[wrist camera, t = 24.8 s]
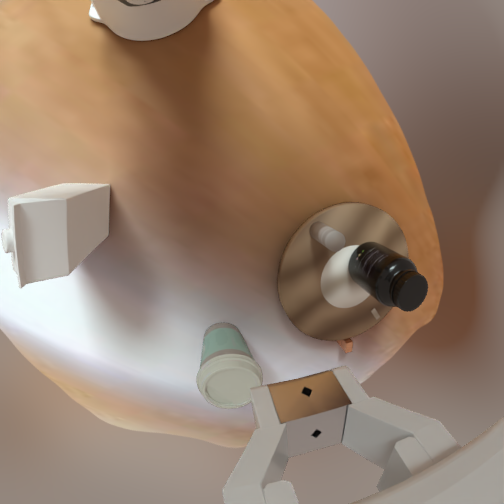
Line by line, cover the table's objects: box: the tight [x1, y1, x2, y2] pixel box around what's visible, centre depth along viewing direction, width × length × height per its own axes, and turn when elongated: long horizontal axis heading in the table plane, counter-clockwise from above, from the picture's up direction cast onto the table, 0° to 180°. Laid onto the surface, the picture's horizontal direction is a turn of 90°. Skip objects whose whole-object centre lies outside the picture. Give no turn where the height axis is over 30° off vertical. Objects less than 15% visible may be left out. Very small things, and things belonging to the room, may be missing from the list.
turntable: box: [277, 202, 408, 341], centre depth 42 cm, size 22×22×8 cm
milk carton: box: [1, 183, 110, 288], centre depth 28 cm, size 7×7×19 cm
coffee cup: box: [197, 323, 263, 409], centre depth 41 cm, size 8×8×12 cm
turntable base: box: [337, 338, 353, 353], centre depth 46 cm, size 22×18×4 cm
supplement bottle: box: [348, 242, 428, 312], centre depth 38 cm, size 7×7×12 cm
